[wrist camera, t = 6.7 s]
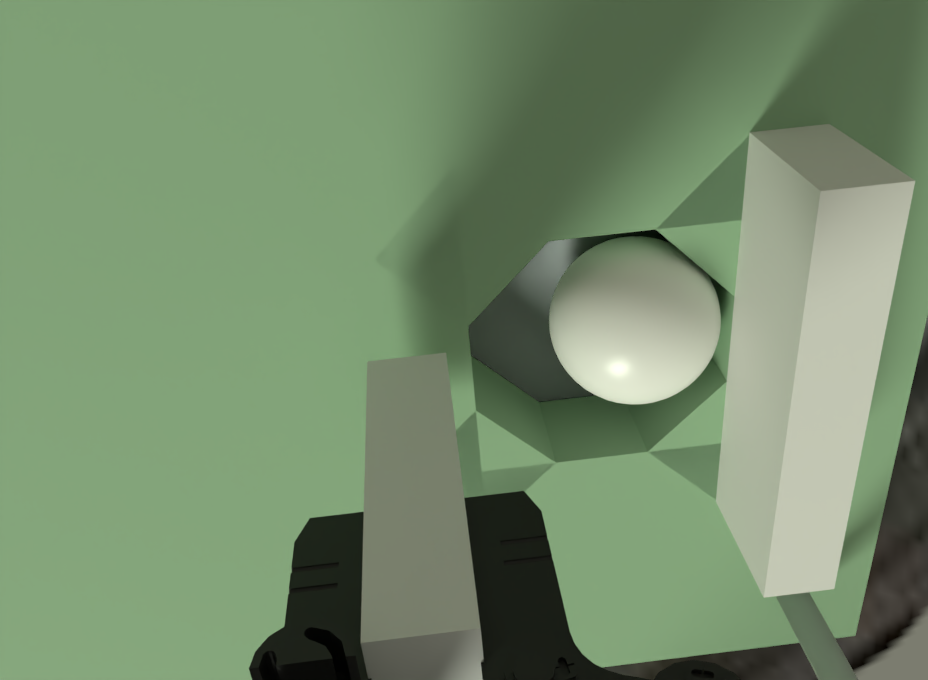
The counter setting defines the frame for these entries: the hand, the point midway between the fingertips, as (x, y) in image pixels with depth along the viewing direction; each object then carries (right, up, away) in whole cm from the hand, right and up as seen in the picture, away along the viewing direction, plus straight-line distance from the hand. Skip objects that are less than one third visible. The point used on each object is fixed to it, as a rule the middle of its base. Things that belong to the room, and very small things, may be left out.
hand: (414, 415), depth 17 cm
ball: (+5, +2, +2) cm, 5 cm away
